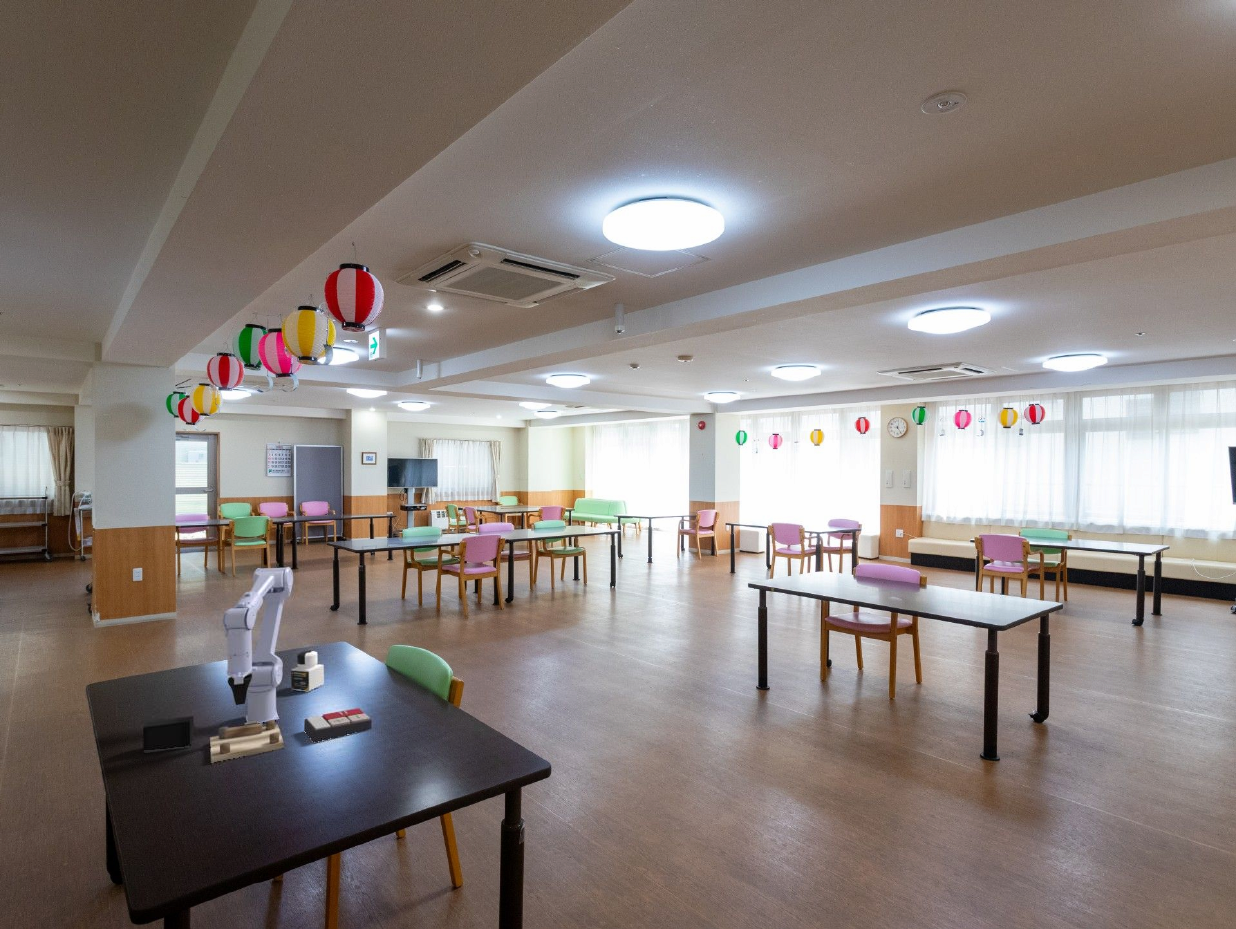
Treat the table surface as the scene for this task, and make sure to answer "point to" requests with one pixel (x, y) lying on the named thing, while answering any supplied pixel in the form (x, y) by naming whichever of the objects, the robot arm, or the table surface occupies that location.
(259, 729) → the folding leg
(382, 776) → the table surface
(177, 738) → the digital camera
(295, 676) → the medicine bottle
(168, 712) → the table surface
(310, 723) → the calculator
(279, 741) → the stool seat
